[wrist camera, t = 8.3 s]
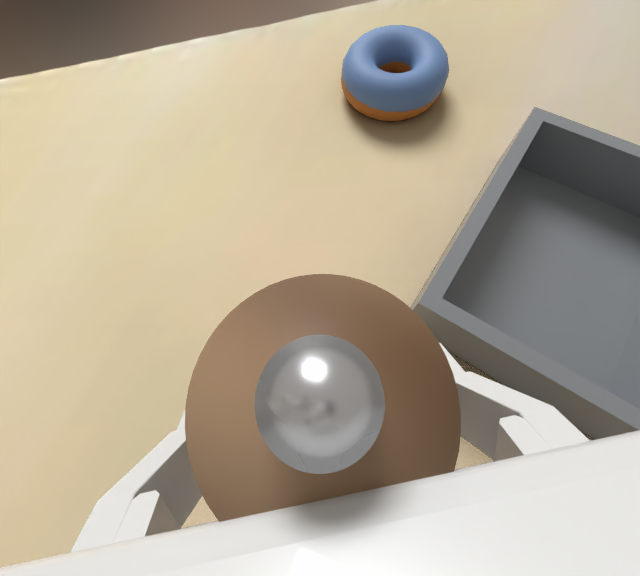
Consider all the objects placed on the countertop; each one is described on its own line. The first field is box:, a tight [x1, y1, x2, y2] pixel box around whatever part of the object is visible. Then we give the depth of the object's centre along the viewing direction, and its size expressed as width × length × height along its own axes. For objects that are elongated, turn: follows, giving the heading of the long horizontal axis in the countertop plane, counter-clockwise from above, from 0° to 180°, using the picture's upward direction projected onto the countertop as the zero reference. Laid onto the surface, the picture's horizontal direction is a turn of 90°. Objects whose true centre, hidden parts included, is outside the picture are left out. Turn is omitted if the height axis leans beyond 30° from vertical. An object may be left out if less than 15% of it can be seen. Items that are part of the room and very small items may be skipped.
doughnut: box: [341, 25, 449, 121], centre depth 29 cm, size 10×10×5 cm
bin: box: [411, 107, 640, 440], centre depth 21 cm, size 18×14×5 cm
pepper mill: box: [185, 274, 461, 522], centre depth 10 cm, size 5×5×11 cm
